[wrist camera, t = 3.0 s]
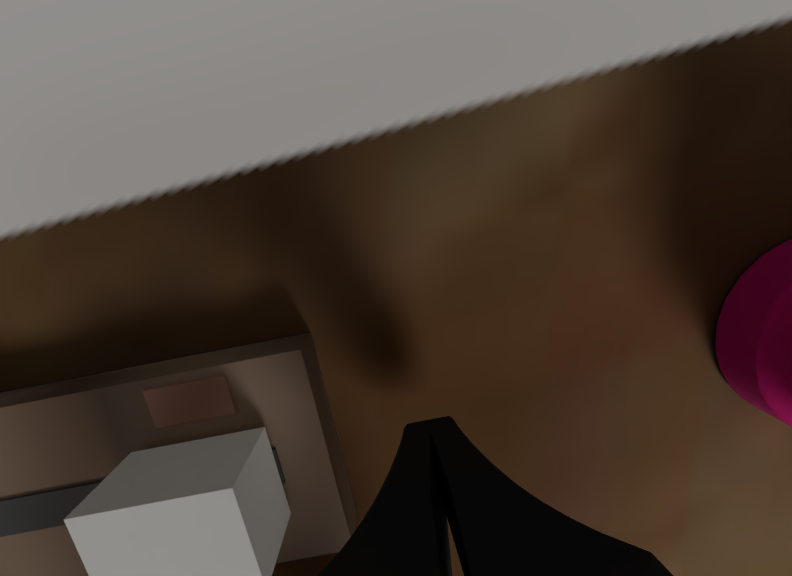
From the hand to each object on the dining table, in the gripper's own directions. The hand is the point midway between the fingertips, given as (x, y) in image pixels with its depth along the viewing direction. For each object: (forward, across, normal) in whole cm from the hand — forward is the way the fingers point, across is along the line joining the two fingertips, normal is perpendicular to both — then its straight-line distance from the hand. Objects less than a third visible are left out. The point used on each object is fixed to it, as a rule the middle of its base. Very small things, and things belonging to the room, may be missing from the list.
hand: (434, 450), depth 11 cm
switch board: (+2, +11, 0) cm, 11 cm away
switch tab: (0, +7, 0) cm, 7 cm away
